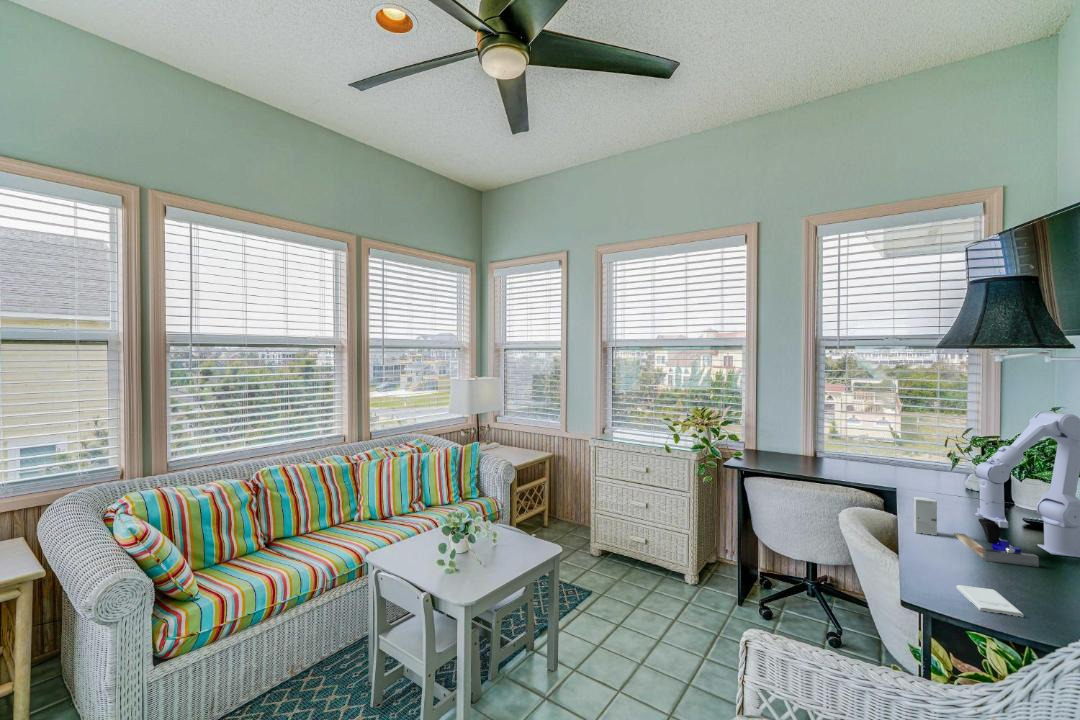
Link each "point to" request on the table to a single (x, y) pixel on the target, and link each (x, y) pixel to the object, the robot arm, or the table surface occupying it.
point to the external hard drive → (989, 600)
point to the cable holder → (1004, 546)
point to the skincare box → (925, 515)
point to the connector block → (1011, 557)
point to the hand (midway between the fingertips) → (992, 543)
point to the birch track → (971, 543)
